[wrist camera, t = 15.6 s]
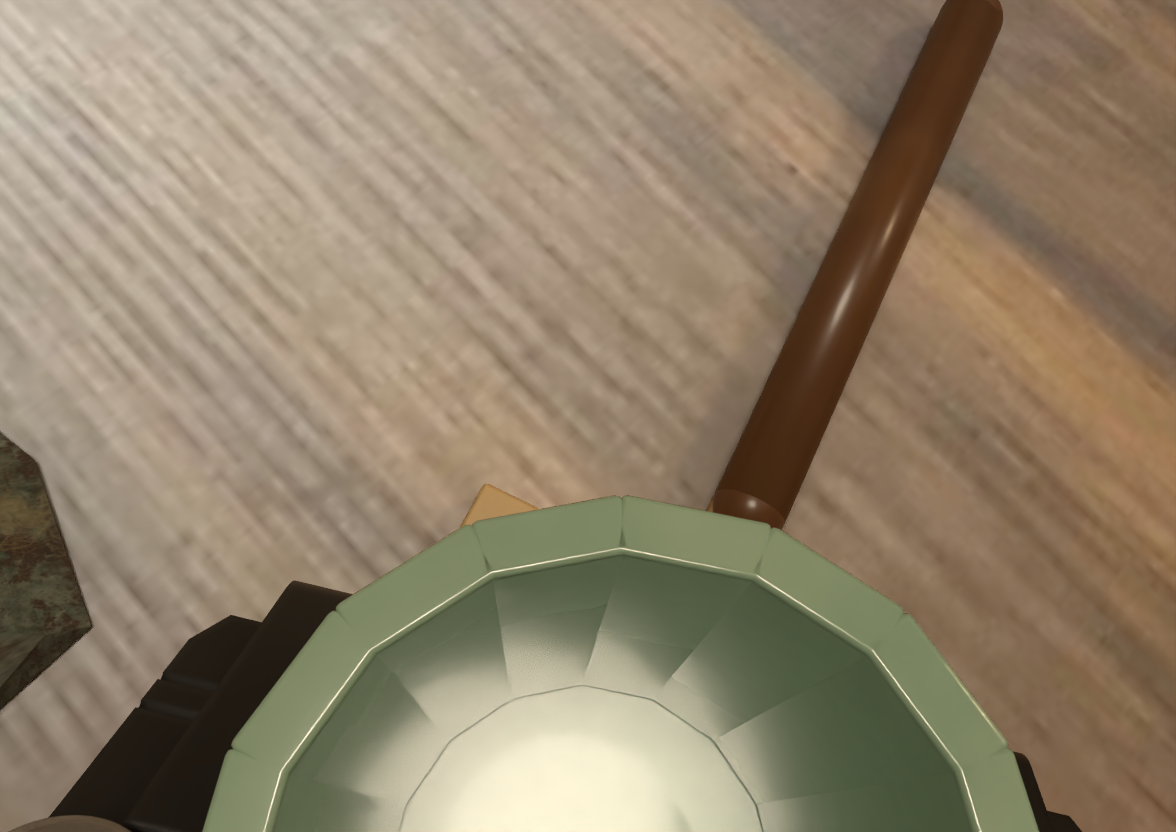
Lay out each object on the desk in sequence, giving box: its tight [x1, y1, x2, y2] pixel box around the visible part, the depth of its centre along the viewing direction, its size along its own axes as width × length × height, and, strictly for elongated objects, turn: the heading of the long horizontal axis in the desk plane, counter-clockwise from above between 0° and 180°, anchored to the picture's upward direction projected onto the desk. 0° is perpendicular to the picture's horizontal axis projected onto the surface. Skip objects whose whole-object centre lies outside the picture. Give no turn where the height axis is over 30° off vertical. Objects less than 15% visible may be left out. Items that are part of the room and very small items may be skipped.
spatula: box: [460, 0, 1003, 530], centre depth 18 cm, size 22×8×1 cm, turn 154°
